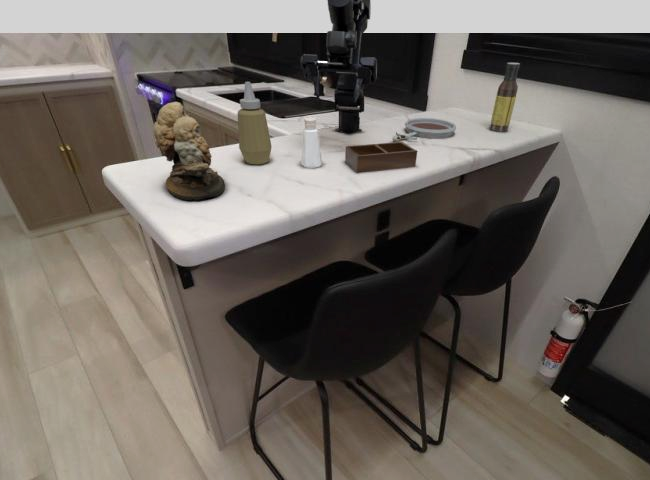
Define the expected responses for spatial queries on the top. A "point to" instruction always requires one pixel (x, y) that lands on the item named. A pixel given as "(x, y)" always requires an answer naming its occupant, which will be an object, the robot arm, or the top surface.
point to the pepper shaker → (310, 145)
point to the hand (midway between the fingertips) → (335, 100)
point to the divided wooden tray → (380, 156)
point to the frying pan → (427, 129)
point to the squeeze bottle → (253, 129)
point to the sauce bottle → (505, 99)
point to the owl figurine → (186, 155)
